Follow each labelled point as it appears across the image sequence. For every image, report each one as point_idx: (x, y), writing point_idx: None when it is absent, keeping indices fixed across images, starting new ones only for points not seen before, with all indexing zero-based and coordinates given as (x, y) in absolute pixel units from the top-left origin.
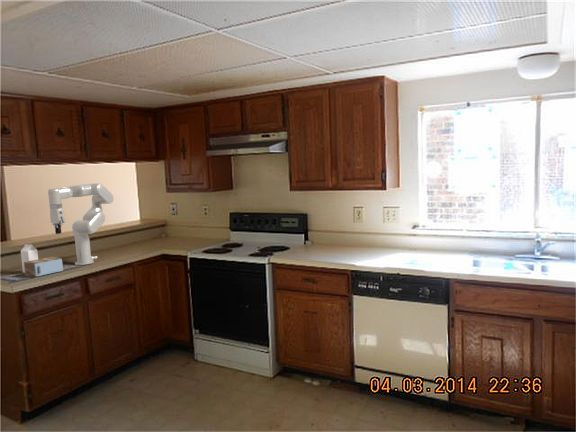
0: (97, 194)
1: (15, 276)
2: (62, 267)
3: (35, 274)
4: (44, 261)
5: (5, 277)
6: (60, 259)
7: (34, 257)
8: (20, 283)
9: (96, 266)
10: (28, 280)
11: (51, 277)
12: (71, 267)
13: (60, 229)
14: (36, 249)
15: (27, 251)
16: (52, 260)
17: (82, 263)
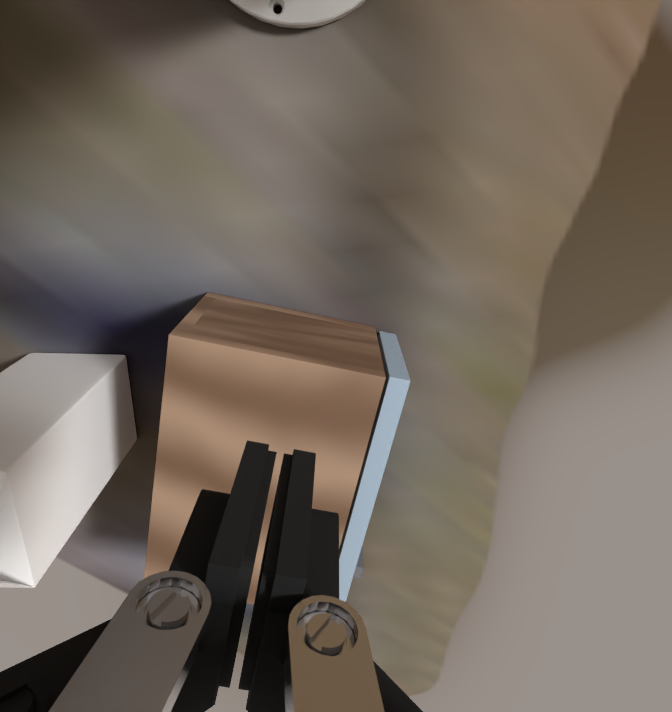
0: None
1: (130, 533)
2: (398, 347)
3: None
4: (342, 532)
5: (83, 565)
6: (405, 396)
7: (68, 462)
8: (392, 658)
9: (612, 58)
10: (372, 600)
11: (479, 516)
12: (326, 159)
13: (337, 568)
14: (2, 481)
15: (27, 587)
16: (366, 463)
17: (358, 1)
